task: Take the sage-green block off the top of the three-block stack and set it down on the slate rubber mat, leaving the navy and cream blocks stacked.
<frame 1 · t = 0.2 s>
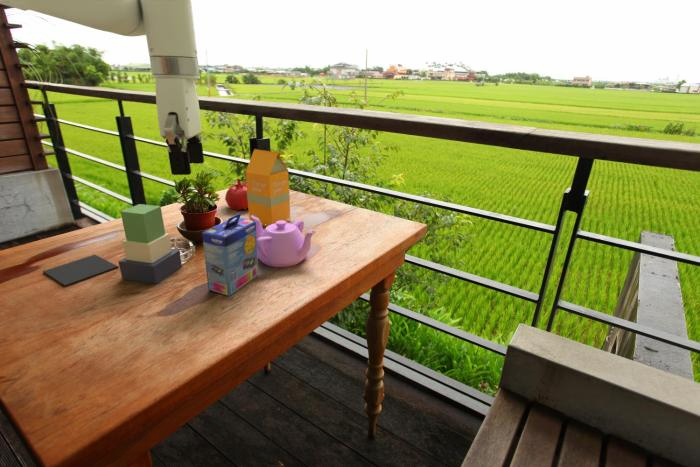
hand: (189, 168, 73), 22 cm above the table, tool pointing down, fingers open, 9 cm apart
cream block: (149, 255, 79), point 4 cm above the table, touching green block, navy block
navy block: (153, 272, 80), on the table, touching cream block
pomegranate: (242, 207, 122), on the table
orange juice: (270, 221, 111), on the table
ink cartridge box: (235, 283, 77), on the table
mat: (81, 270, 81), on the table
green block: (146, 237, 77), point 8 cm above the table, touching cream block
teapot: (283, 259, 88), on the table
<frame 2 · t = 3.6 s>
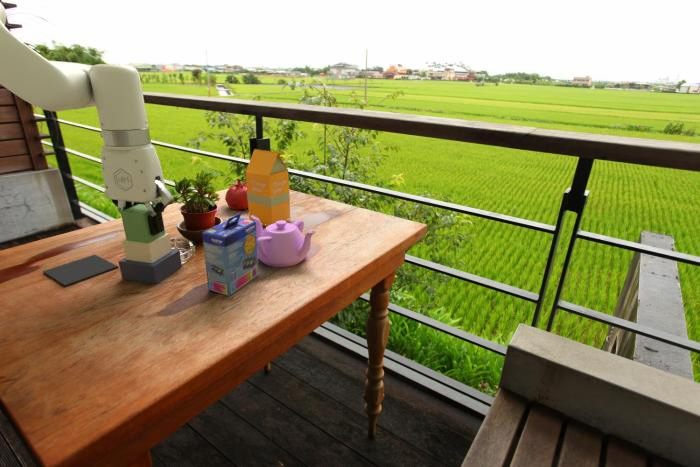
hand: (145, 230, 77), 9 cm above the table, tool pointing down, fingers closed on green block, 5 cm apart
green block: (146, 237, 77), point 8 cm above the table, touching cream block, gripper
everything else where it was.
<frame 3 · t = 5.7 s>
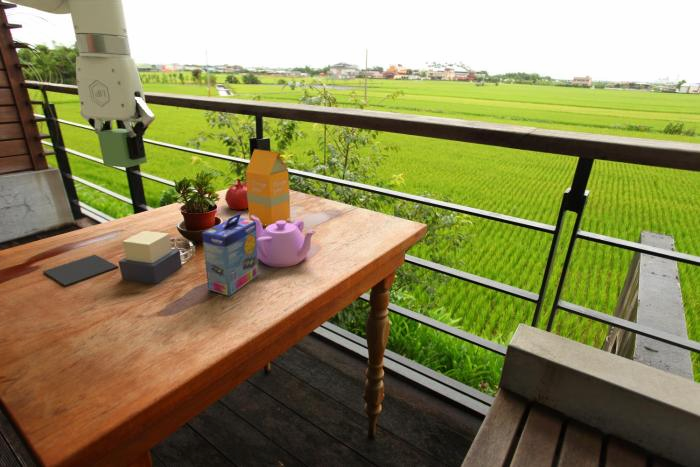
hand: (124, 156, 71), 24 cm above the table, tool pointing down, fingers closed on green block, 5 cm apart
cream block: (149, 255, 79), point 4 cm above the table, touching navy block
green block: (126, 163, 72), point 23 cm above the table, touching gripper
everything else where it was.
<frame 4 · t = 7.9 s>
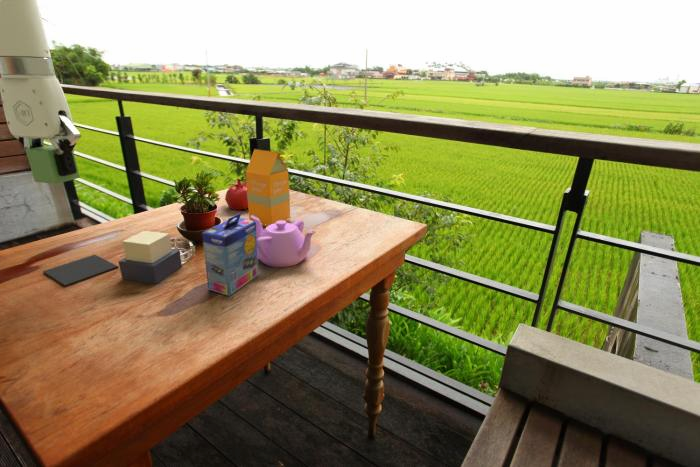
hand: (55, 172, 73), 21 cm above the table, tool pointing down, fingers closed on green block, 5 cm apart
green block: (57, 179, 74), point 19 cm above the table, touching gripper
everything else where it was.
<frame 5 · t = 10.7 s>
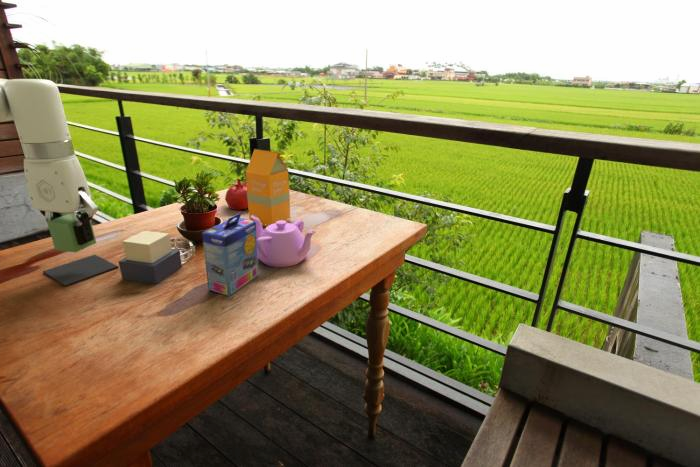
hand: (74, 239, 78), 7 cm above the table, tool pointing down, fingers closed on green block, 5 cm apart
green block: (76, 246, 79), point 5 cm above the table, touching gripper
everything else where it was.
when the fingers open (2 cm above the table, at t = 12.4 s): green block stays where it is, resting on mat.
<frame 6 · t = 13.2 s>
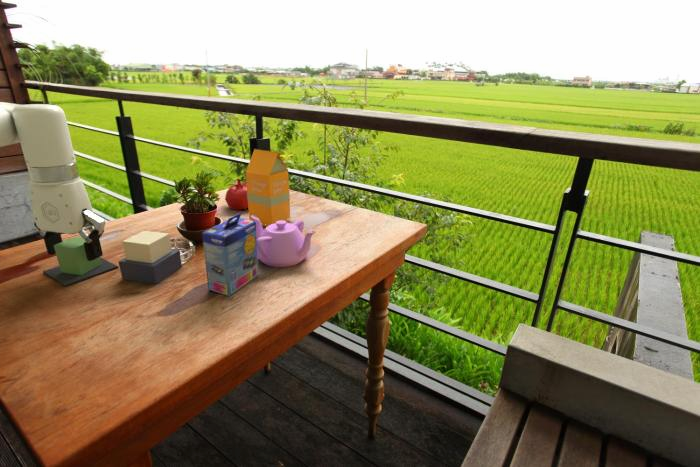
hand: (75, 255, 80), 4 cm above the table, tool pointing down, fingers open, 9 cm apart
green block: (81, 268, 81), resting on mat
everything else where it was.
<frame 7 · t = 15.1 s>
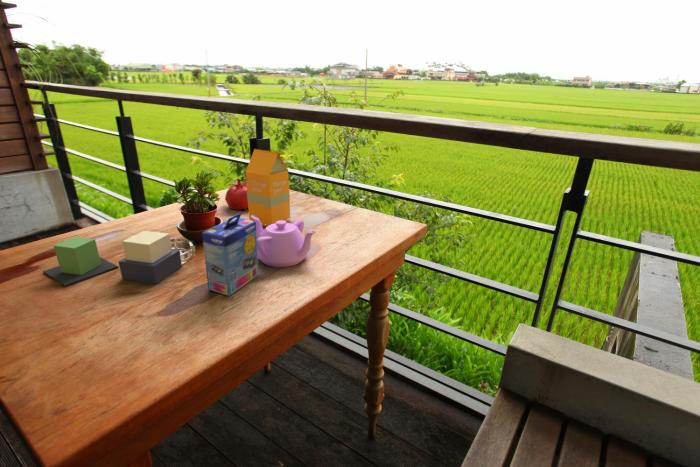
nothing on the table moved.
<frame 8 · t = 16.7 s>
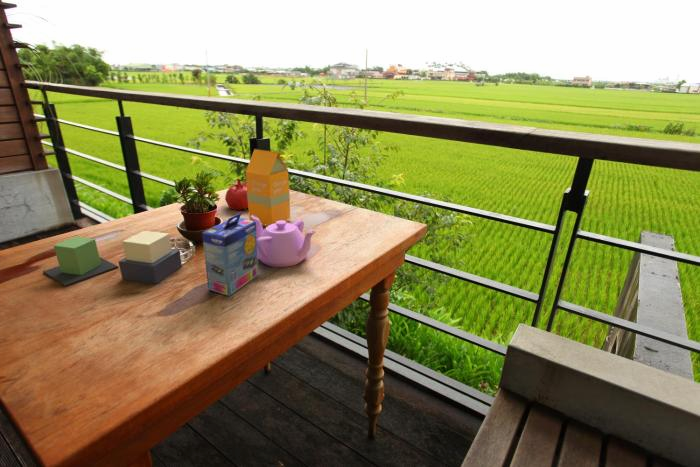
nothing on the table moved.
at the end: green block inside the target area on the mat (0.1 cm from its centre), point 0.4 cm above the mat's base; green block tilted 0°; cream block moved 0.0 cm from its start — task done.
